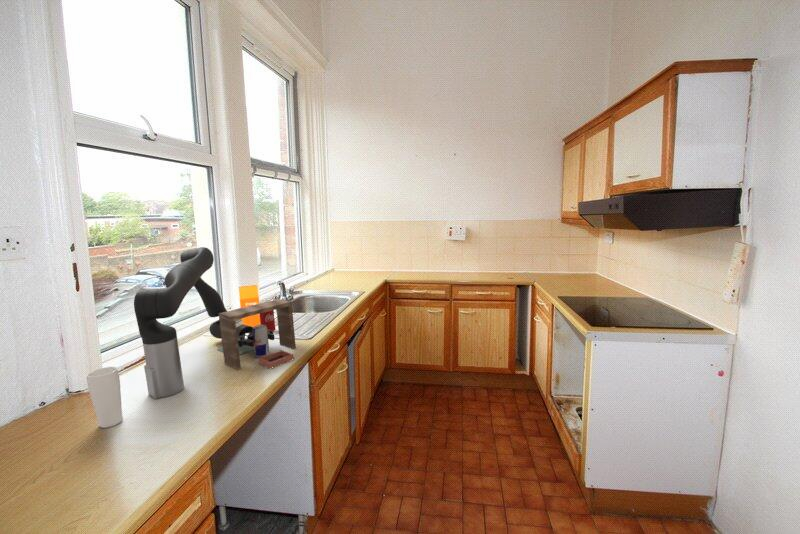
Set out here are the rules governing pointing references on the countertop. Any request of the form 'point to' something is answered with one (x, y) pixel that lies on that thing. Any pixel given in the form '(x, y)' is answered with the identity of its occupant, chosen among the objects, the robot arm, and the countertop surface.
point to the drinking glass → (106, 395)
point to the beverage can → (268, 320)
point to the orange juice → (249, 303)
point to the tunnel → (229, 317)
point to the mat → (241, 349)
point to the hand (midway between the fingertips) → (263, 340)
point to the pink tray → (275, 359)
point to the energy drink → (260, 341)
